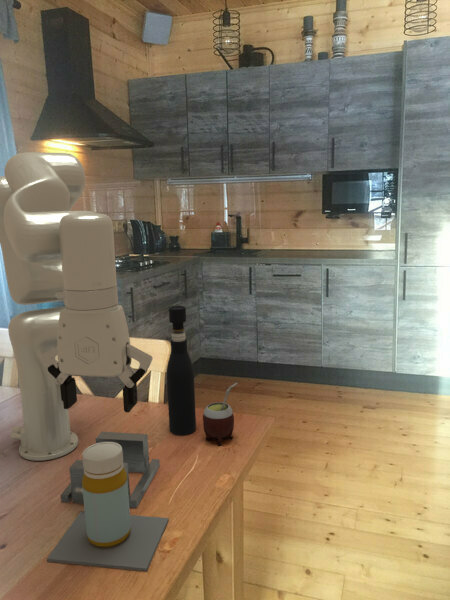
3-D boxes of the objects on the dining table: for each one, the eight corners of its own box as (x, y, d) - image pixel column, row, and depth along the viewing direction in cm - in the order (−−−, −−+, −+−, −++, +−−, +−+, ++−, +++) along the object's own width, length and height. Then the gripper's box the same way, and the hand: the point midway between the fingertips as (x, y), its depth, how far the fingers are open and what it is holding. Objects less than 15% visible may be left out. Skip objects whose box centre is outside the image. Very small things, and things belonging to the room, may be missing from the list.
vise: (54, 510, 89) (50, 474, 88) (93, 461, 106) (91, 431, 104) (131, 516, 87) (129, 480, 86) (159, 465, 103) (157, 434, 102)
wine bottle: (164, 433, 117) (158, 309, 112) (176, 422, 123) (170, 304, 117) (189, 437, 115) (184, 311, 109) (200, 425, 121) (195, 305, 115)
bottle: (120, 552, 77) (113, 463, 74) (79, 547, 79) (71, 460, 76) (137, 523, 84) (131, 441, 81) (99, 519, 85) (91, 439, 83)
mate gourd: (203, 433, 117) (201, 372, 114) (236, 431, 118) (235, 371, 115) (204, 448, 110) (202, 384, 107) (239, 446, 110) (238, 382, 107)
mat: (47, 561, 77) (46, 558, 76) (81, 513, 88) (81, 510, 88) (146, 571, 74) (146, 568, 74) (168, 520, 86) (168, 518, 85)
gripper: (23, 303, 71) (35, 414, 74) (139, 305, 68) (146, 421, 72) (49, 292, 78) (59, 394, 82) (155, 294, 75) (161, 400, 79)
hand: (100, 407), depth 77 cm, fingers open, 9 cm apart
